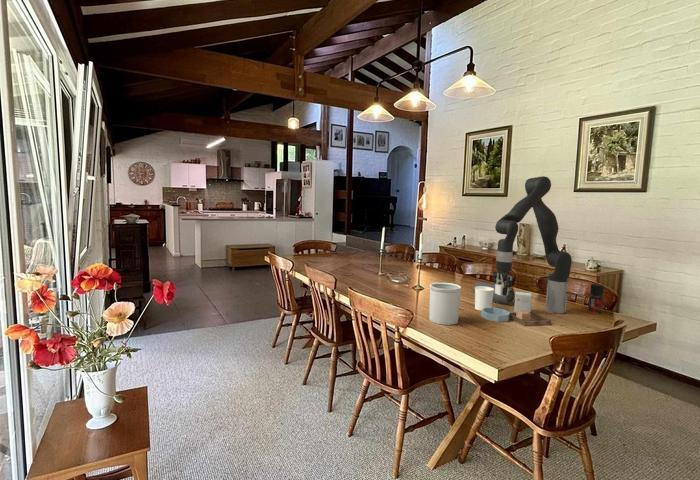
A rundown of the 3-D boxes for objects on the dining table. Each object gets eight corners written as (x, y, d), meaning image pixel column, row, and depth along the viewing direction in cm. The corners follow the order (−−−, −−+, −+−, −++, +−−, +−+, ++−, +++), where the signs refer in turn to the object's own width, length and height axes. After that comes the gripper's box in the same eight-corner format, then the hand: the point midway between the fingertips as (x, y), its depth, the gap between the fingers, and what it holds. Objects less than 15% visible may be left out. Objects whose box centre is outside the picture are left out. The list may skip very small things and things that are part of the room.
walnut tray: (530, 316, 195) (531, 311, 194) (550, 326, 181) (551, 320, 181) (506, 317, 192) (506, 312, 191) (524, 327, 178) (525, 322, 178)
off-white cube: (502, 292, 191) (503, 284, 191) (508, 295, 187) (508, 286, 187) (494, 293, 190) (495, 284, 190) (499, 295, 186) (500, 286, 186)
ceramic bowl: (498, 314, 197) (499, 307, 197) (514, 322, 185) (515, 314, 184) (476, 314, 195) (477, 307, 194) (490, 323, 182) (491, 315, 182)
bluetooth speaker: (514, 304, 216) (516, 287, 215) (505, 307, 211) (506, 289, 210) (481, 295, 235) (482, 279, 234) (471, 297, 230) (472, 281, 229)
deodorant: (587, 311, 207) (590, 284, 205) (589, 309, 211) (592, 283, 210) (599, 313, 203) (602, 286, 201) (601, 311, 207) (604, 285, 206)
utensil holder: (421, 317, 188) (423, 283, 186) (446, 314, 194) (448, 281, 192) (439, 327, 175) (442, 290, 173) (465, 323, 181) (467, 288, 179)
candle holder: (494, 313, 199) (495, 291, 197) (474, 311, 200) (476, 289, 199) (490, 308, 208) (492, 286, 207) (472, 306, 210) (473, 285, 209)
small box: (530, 312, 202) (532, 293, 201) (530, 315, 197) (532, 295, 196) (514, 310, 206) (515, 291, 204) (513, 312, 200) (515, 293, 199)
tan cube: (523, 319, 188) (524, 310, 188) (529, 322, 184) (530, 313, 183) (515, 319, 187) (516, 310, 187) (521, 322, 183) (522, 313, 182)
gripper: (520, 262, 181) (517, 297, 183) (502, 257, 194) (499, 290, 196) (506, 262, 179) (503, 297, 181) (489, 257, 193) (486, 290, 195)
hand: (501, 293), depth 189 cm, fingers closed on off-white cube, 4 cm apart
